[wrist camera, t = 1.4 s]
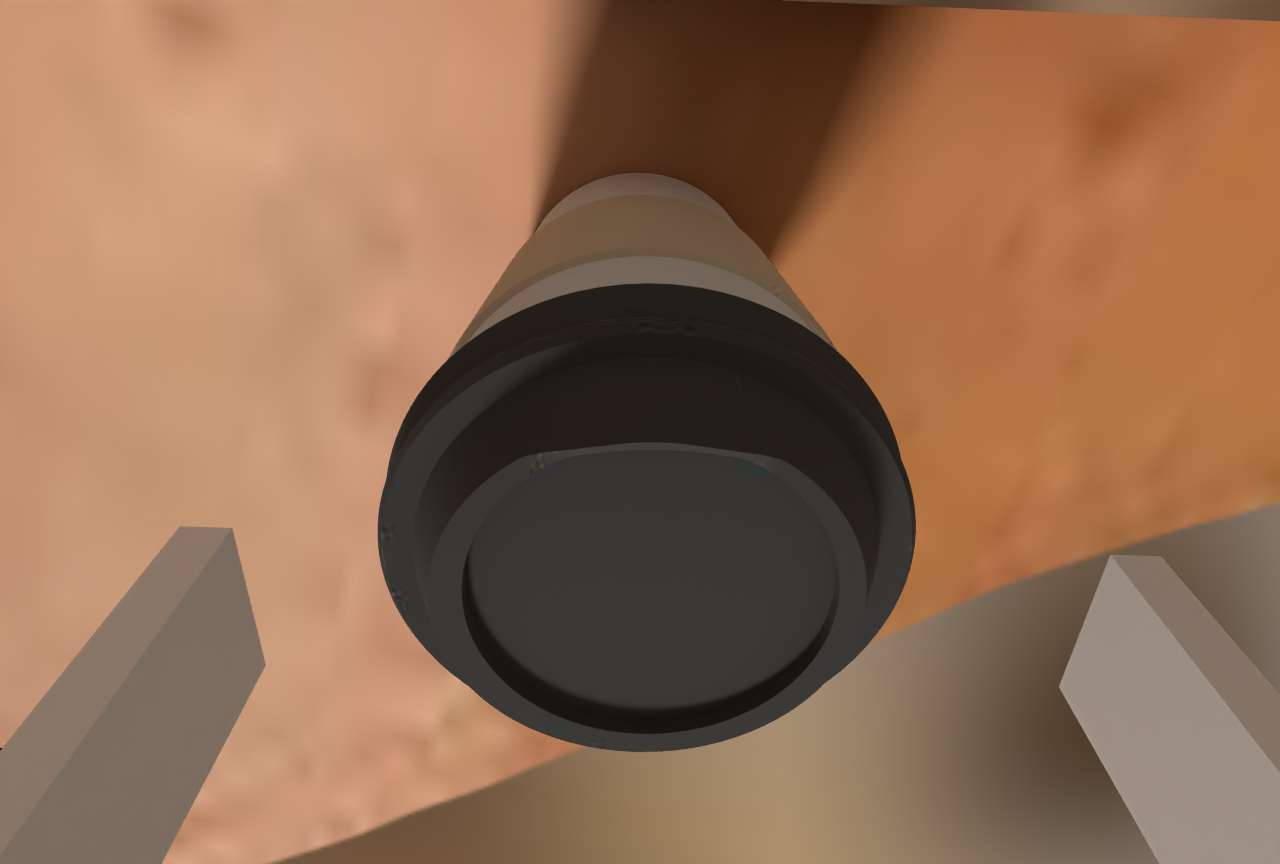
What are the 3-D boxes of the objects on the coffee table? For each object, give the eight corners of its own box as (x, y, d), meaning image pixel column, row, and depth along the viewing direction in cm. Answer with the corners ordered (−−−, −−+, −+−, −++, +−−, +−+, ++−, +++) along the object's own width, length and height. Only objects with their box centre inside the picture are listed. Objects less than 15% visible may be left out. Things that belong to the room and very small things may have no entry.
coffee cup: (771, 417, 28) (895, 822, 15) (497, 414, 28) (384, 820, 15) (803, 133, 24) (1020, 358, 11) (477, 126, 23) (291, 346, 10)
